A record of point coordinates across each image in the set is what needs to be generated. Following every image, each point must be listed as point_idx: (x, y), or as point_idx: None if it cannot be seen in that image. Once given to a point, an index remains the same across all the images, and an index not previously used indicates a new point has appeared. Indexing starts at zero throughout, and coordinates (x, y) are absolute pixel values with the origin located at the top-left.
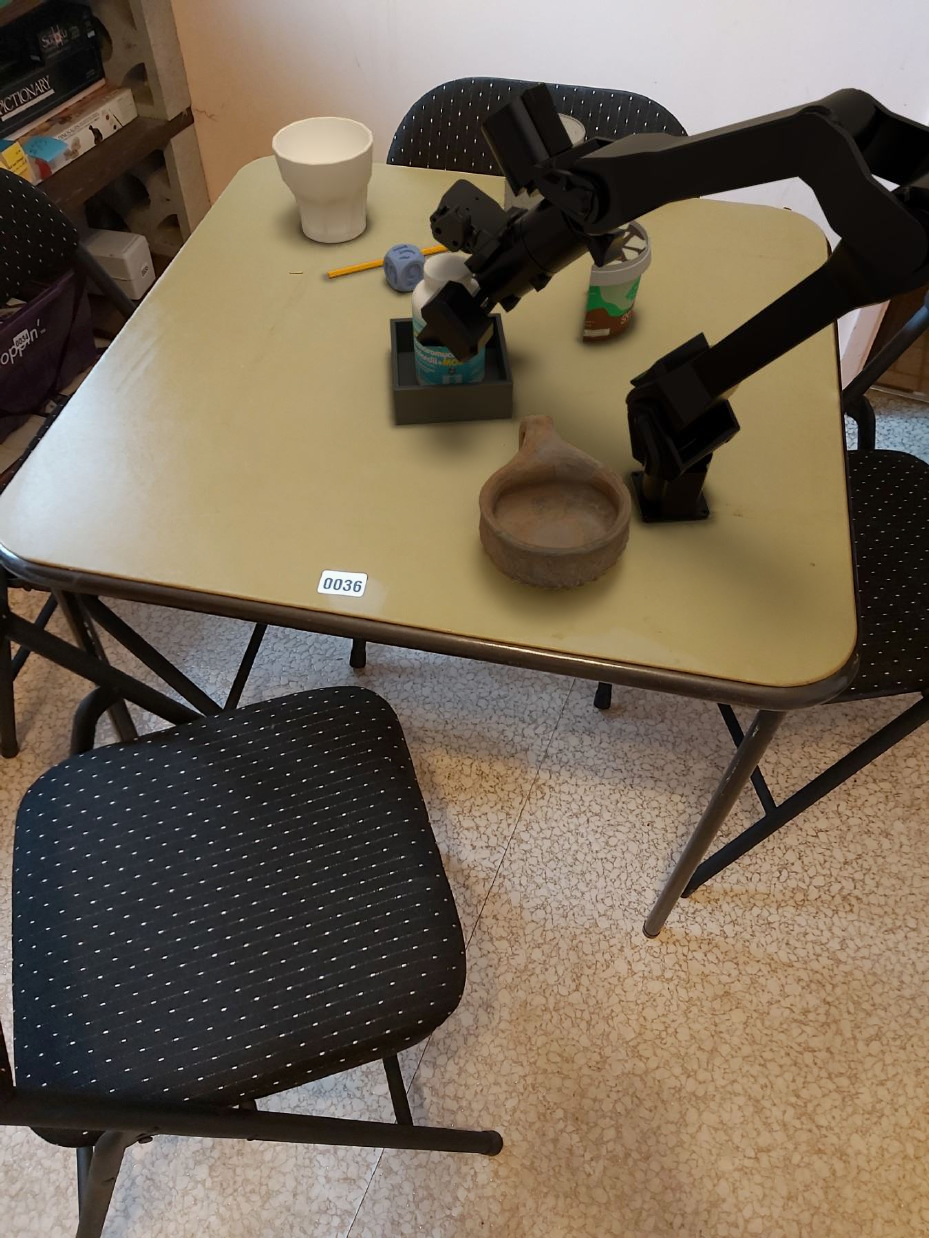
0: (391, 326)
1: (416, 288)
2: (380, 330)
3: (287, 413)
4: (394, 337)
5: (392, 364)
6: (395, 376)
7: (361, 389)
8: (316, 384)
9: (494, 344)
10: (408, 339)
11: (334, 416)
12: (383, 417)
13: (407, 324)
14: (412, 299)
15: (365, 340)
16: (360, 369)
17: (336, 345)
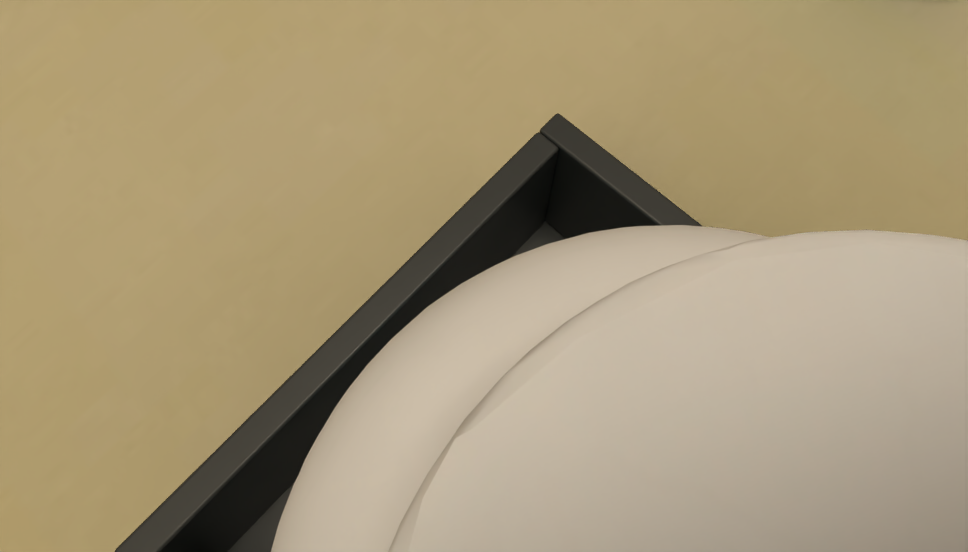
0: (515, 162)
1: (473, 311)
2: (611, 67)
3: (6, 169)
4: (456, 238)
5: (267, 401)
6: (194, 493)
7: (287, 270)
8: (203, 125)
9: None
10: (592, 230)
11: (90, 311)
12: None
13: (607, 195)
14: (365, 368)
15: (524, 70)
16: (379, 179)
17: (426, 18)
